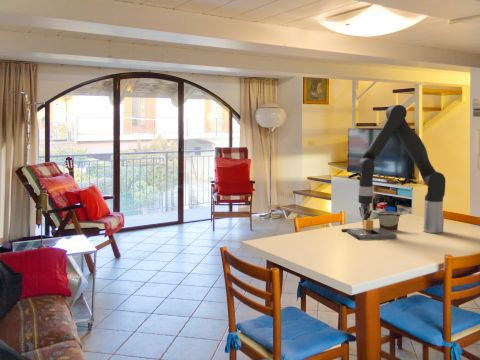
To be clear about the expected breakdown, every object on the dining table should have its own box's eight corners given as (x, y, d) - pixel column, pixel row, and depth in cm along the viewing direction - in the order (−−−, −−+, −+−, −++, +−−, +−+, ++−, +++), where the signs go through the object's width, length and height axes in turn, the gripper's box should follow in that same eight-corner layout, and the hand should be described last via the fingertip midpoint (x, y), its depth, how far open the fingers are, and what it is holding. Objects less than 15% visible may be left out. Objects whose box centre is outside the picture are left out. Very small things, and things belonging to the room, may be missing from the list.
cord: (346, 232, 259) (346, 230, 258) (349, 232, 259) (349, 230, 259) (357, 239, 242) (357, 237, 242) (360, 239, 242) (360, 236, 242)
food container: (397, 228, 269) (397, 211, 268) (399, 230, 263) (400, 213, 262) (375, 228, 270) (375, 210, 269) (377, 230, 264) (377, 212, 263)
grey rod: (359, 230, 263) (359, 228, 263) (360, 231, 262) (360, 228, 262) (340, 231, 262) (340, 228, 262) (341, 231, 261) (341, 229, 260)
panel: (381, 231, 262) (382, 227, 262) (396, 238, 244) (396, 234, 244) (347, 232, 260) (347, 228, 259) (359, 239, 242) (359, 235, 242)
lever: (370, 231, 258) (370, 219, 258) (373, 232, 254) (373, 220, 254) (363, 231, 258) (363, 219, 257) (365, 233, 254) (366, 221, 253)
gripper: (377, 196, 253) (376, 227, 254) (367, 192, 266) (366, 222, 268) (363, 196, 252) (362, 228, 254) (354, 192, 265) (354, 223, 267)
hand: (364, 225), depth 261 cm, fingers closed
